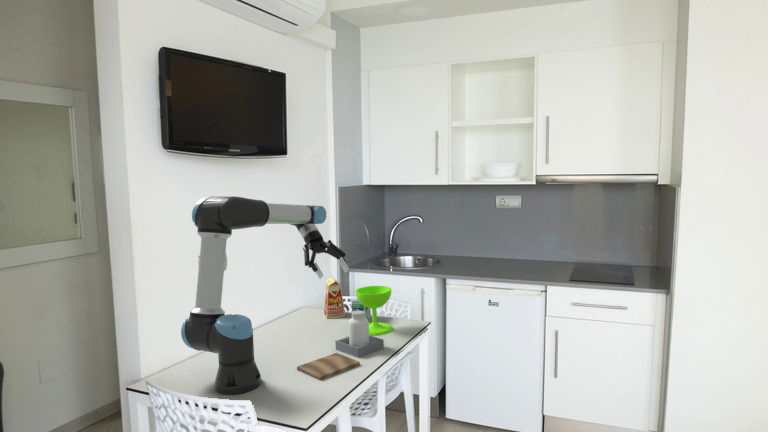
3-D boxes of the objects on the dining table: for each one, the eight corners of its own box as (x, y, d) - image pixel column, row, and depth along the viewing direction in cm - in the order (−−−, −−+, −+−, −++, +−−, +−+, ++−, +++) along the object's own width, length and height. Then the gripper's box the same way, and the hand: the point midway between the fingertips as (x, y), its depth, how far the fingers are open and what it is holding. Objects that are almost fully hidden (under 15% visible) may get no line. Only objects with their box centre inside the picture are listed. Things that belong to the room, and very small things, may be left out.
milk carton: (323, 314, 257) (321, 274, 255) (341, 312, 259) (339, 272, 257) (327, 319, 248) (324, 278, 246) (345, 316, 251) (343, 276, 249)
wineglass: (397, 325, 234) (395, 286, 232) (386, 336, 219) (385, 295, 217) (364, 323, 239) (362, 285, 237) (351, 334, 224) (349, 293, 222)
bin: (357, 357, 196) (357, 348, 196) (335, 349, 206) (335, 340, 206) (383, 347, 206) (383, 339, 205) (361, 340, 216) (361, 332, 215)
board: (319, 380, 177) (319, 376, 177) (297, 369, 187) (296, 366, 187) (359, 364, 189) (359, 361, 189) (336, 355, 199) (336, 352, 199)
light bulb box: (366, 323, 239) (365, 300, 238) (352, 323, 240) (350, 300, 239) (371, 316, 249) (370, 294, 248) (357, 316, 251) (356, 294, 250)
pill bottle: (372, 350, 204) (370, 313, 202) (353, 353, 201) (351, 316, 199) (365, 344, 211) (364, 308, 210) (347, 347, 208) (345, 311, 207)
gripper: (331, 237, 234) (354, 273, 225) (283, 245, 217) (306, 285, 208) (337, 226, 230) (361, 263, 220) (289, 233, 213) (313, 273, 203)
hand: (334, 273), depth 214 cm, fingers open, 13 cm apart
